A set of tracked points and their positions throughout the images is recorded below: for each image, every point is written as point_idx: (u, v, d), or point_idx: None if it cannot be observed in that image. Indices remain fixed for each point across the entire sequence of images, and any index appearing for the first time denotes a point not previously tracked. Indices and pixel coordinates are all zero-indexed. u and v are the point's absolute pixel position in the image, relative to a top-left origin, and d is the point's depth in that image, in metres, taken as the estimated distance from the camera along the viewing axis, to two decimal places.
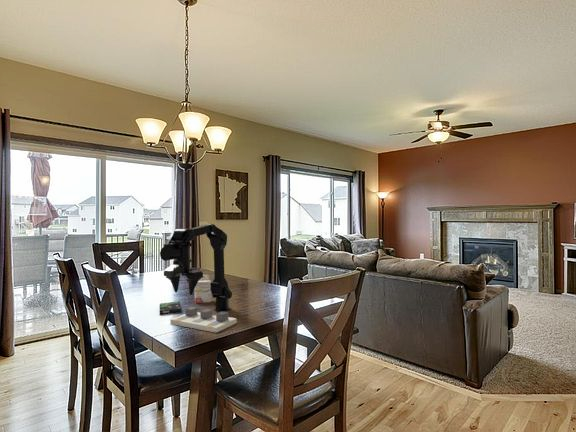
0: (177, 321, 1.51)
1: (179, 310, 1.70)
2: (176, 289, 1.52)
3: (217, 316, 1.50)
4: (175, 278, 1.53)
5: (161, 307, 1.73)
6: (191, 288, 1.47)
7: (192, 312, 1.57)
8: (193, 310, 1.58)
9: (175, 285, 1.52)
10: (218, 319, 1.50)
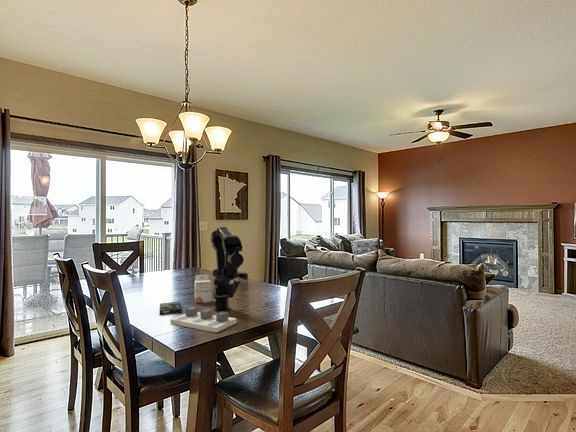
0: (177, 321, 1.51)
1: (179, 310, 1.70)
2: None
3: (217, 316, 1.50)
4: None
5: (161, 307, 1.73)
6: (229, 291, 1.57)
7: (192, 312, 1.57)
8: (193, 310, 1.58)
9: None
10: (218, 319, 1.50)
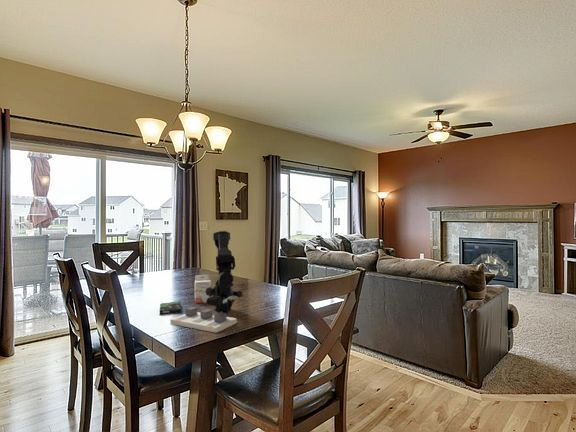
0: (177, 321, 1.51)
1: (179, 310, 1.70)
2: None
3: (215, 317, 1.49)
4: None
5: (162, 307, 1.73)
6: (222, 310, 1.52)
7: (192, 312, 1.57)
8: (193, 310, 1.58)
9: None
10: (216, 320, 1.48)
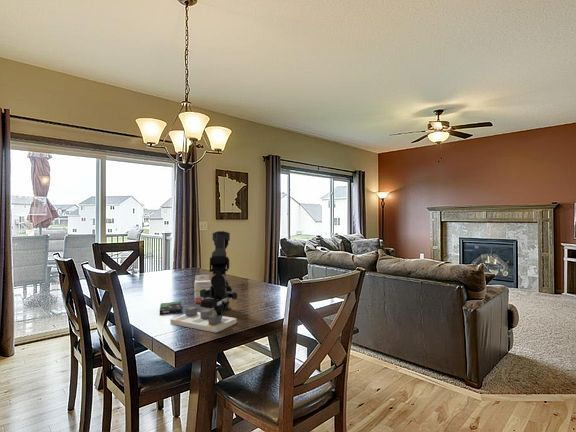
0: (177, 321, 1.51)
1: (179, 310, 1.70)
2: None
3: (209, 319, 1.45)
4: None
5: (162, 307, 1.73)
6: (217, 313, 1.49)
7: (192, 312, 1.57)
8: (193, 310, 1.58)
9: None
10: (211, 323, 1.45)
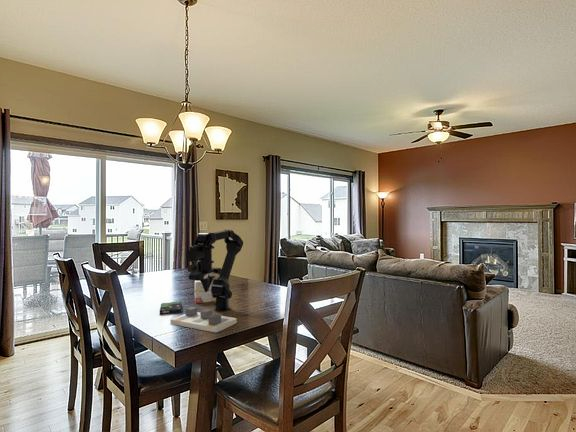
0: (177, 321, 1.51)
1: (179, 310, 1.70)
2: None
3: (209, 319, 1.45)
4: None
5: (162, 307, 1.73)
6: (203, 286, 1.62)
7: (192, 312, 1.57)
8: (193, 310, 1.58)
9: None
10: (211, 323, 1.45)
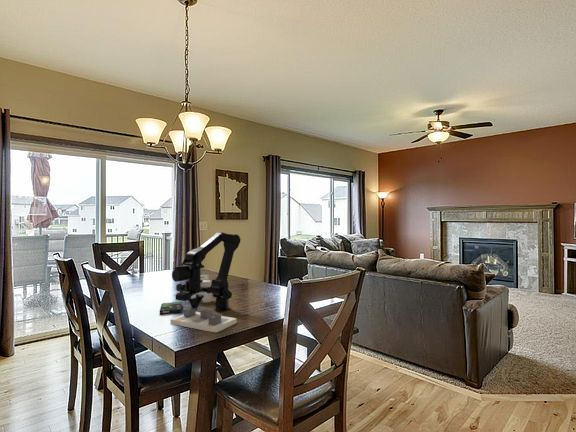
0: (177, 321, 1.51)
1: (179, 310, 1.69)
2: None
3: (209, 319, 1.45)
4: None
5: (162, 307, 1.73)
6: (192, 305, 1.61)
7: (190, 313, 1.56)
8: (191, 311, 1.57)
9: None
10: (211, 323, 1.45)
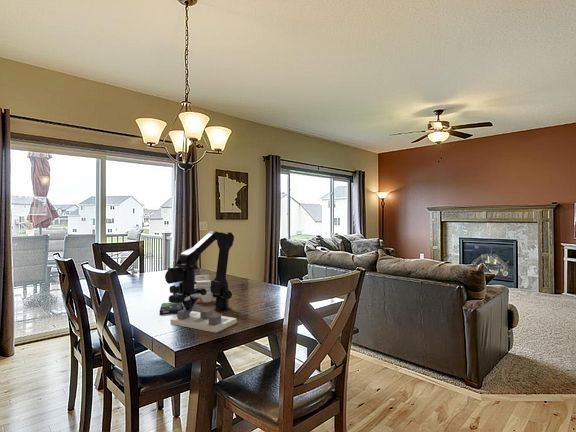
0: (177, 321, 1.51)
1: (179, 310, 1.69)
2: None
3: (209, 319, 1.45)
4: None
5: (162, 307, 1.73)
6: (185, 308, 1.57)
7: (184, 315, 1.53)
8: (185, 313, 1.54)
9: None
10: (211, 323, 1.45)
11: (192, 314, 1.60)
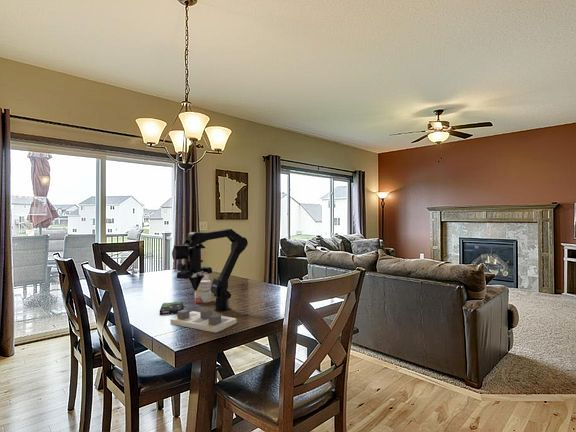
0: (177, 321, 1.51)
1: (179, 310, 1.69)
2: None
3: (209, 319, 1.45)
4: None
5: (163, 307, 1.73)
6: (192, 284, 1.65)
7: (184, 315, 1.53)
8: (185, 313, 1.54)
9: None
10: (211, 323, 1.45)
11: (192, 314, 1.60)
